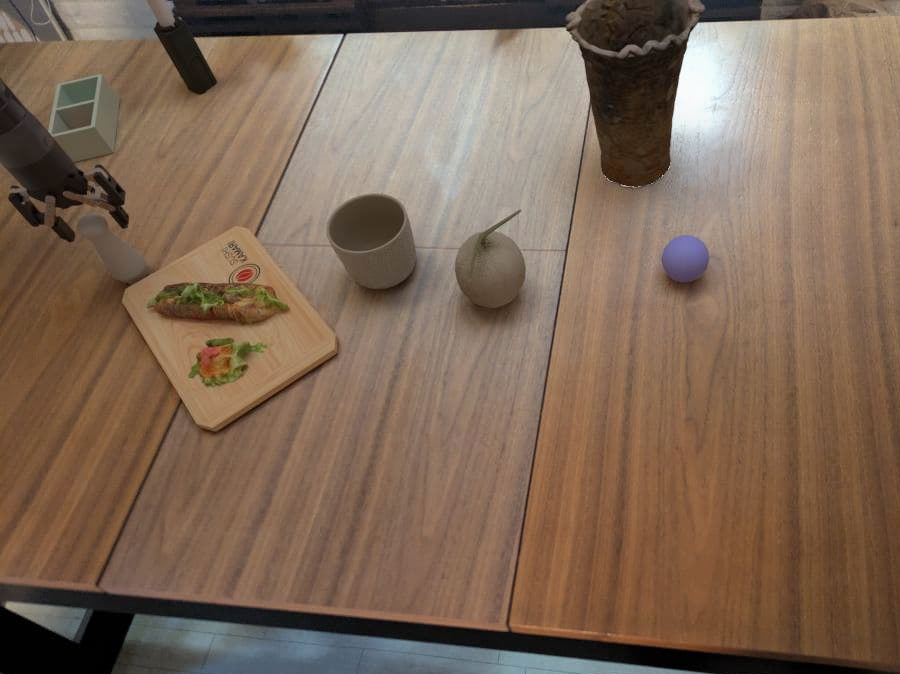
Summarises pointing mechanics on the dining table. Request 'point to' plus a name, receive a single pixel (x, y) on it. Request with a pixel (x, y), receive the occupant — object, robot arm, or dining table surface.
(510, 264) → the fruit
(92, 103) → the box
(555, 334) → the dining table surface
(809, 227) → the dining table surface
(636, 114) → the vase
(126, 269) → the salt shaker
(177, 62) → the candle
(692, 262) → the sphere
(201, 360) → the cutting board
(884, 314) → the dining table surface
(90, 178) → the robot arm
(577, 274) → the dining table surface
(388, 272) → the planter
